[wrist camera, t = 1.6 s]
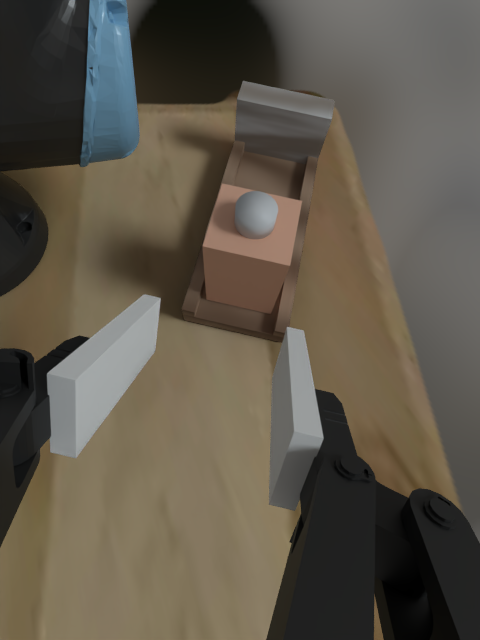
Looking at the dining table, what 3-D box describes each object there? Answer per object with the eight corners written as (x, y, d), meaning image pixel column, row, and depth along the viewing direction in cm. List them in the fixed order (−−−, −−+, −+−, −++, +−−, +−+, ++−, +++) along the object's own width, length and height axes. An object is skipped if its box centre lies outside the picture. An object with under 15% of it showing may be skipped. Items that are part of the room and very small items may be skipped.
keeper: (270, 314, 31) (295, 253, 21) (206, 299, 31) (201, 232, 22) (281, 262, 33) (307, 185, 24) (220, 248, 34) (222, 166, 24)
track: (282, 342, 32) (300, 313, 25) (184, 320, 32) (175, 285, 25) (315, 158, 41) (334, 100, 34) (238, 142, 42) (243, 80, 35)
